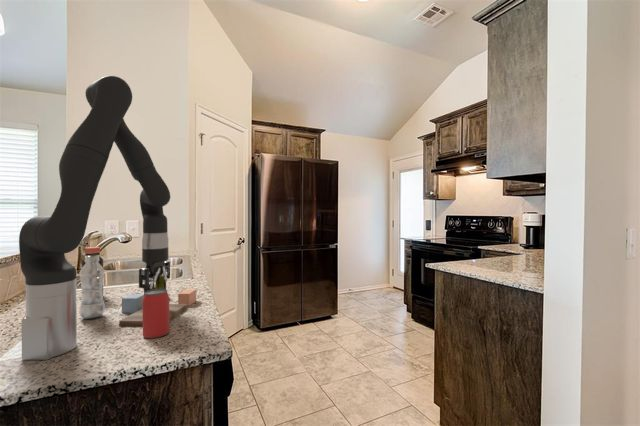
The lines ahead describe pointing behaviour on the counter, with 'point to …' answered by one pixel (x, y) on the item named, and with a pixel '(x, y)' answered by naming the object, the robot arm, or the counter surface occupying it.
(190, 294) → the terracotta block
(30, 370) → the counter surface
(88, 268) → the plastic bottle
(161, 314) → the beer can
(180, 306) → the walnut board
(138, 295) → the smoky blue cube
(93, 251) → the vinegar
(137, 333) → the counter surface
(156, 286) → the fennel bulb
